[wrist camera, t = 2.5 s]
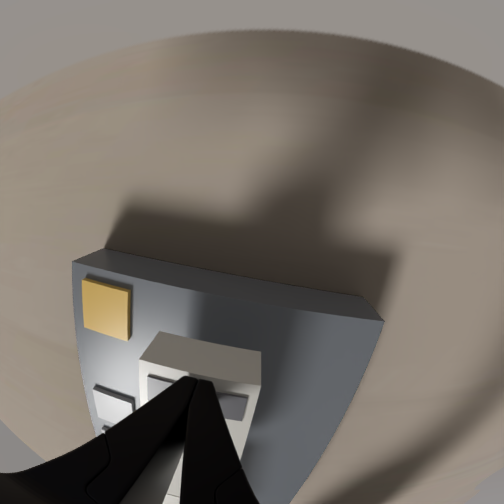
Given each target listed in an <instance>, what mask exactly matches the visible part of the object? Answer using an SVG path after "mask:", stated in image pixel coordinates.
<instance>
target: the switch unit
mask: <svg viewBox="0 0 504 504" xmlns="http://www.w3.org/2000/svg"><path fill="white" fill-rule="evenodd" d="M72 287H73V306H74V319H75V330H76V339H77V347H78V354H79V361H80V367H81V373H82V378H83V384H84V389H85V394H86V398H87V403H88V407H89V411H90V415H91V419H92V423H93V427H94V430H95V434H96V437H97V436H98V435H100V434H101V433H104V434H105V431H106V430H108V429H109V428H111V427H112V426H114V425H115V424H117V423H118V422H120V421H121V420H122V419H124V418H125V417H127V416H128V415H130V414H131V413H133V412H134V411H135V410H137V409H138V408H140V388H139V358H140V357H141V356H142V354H143V353H144V352H145V350H146V349H147V347H148V346H149V345H150V343H151V342H152V341H153V339H154V338H155V337H156V335H157V334H158V332H159V331H162V332H166V333H170V334H174V335H179V336H183V337H187V338H192V339H196V340H201V341H206V342H210V343H215V344H220V345H226V346H231V347H236V348H242V349H248V350H254V351H260V352H261V388H260V392H259V396H258V400H257V403H256V407H255V411H254V414H253V418H252V421H251V425H250V429H249V432H248V436H247V439H246V442H245V446H244V449H243V453H242V456H241V459H240V462H241V464H242V469H244V472H245V474H246V477H247V479H248V481H249V484H250V486H251V488H252V490H253V492H254V494H255V496H256V498H257V500H258V501H259V503H260V504H289V503H290V502H291V500H292V499H293V498H294V496H295V495H296V493H297V492H298V491H299V489H300V488H301V486H302V485H303V483H304V482H305V480H306V479H307V477H308V476H309V474H310V473H311V471H312V470H313V468H314V467H315V465H316V463H317V462H318V460H319V459H320V457H321V455H322V454H323V452H324V450H325V449H326V447H327V445H328V444H329V442H330V440H331V438H332V437H333V435H334V433H335V431H336V429H337V427H338V426H339V424H340V422H341V420H342V418H343V416H344V414H345V412H346V410H347V408H348V406H349V404H350V402H351V400H352V398H353V396H354V394H355V392H356V390H357V388H358V386H359V383H360V381H361V379H362V377H363V375H364V372H365V370H366V368H367V365H368V363H369V361H370V358H371V356H372V353H373V351H374V348H375V346H376V343H377V341H378V338H379V335H380V333H381V330H382V327H383V325H384V322H385V321H384V320H383V319H382V318H381V317H380V316H379V314H378V313H377V312H376V311H375V310H374V309H373V308H372V306H371V305H370V304H369V303H368V302H367V301H366V300H365V299H364V297H359V296H353V295H347V294H341V293H334V292H328V291H322V290H316V289H310V288H304V287H298V286H293V285H287V284H281V283H276V282H270V281H264V280H259V279H253V278H248V277H242V276H237V275H232V274H226V273H221V272H216V271H211V270H206V269H200V268H195V267H190V266H185V265H180V264H175V263H170V262H166V261H161V260H156V259H151V258H146V257H142V256H137V255H132V254H127V253H123V252H118V251H114V250H109V249H105V248H103V249H100V250H98V251H96V252H93V253H91V254H88V255H86V256H84V257H81V258H79V259H77V260H74V261H72Z"/></svg>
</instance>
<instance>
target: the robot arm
mask: <svg viewBox="0 0 504 504" xmlns="http://www.w3.org/2000/svg"><path fill="white" fill-rule="evenodd" d="M182 453H183V462H182V474H181V488H180V502H179V504H260V503H259V501H258V500H257V498H256V496H255V494H254V492H253V490H252V488H251V486H250V484H249V481H248V479H247V477H246V474H245V472H244V469H242V464H241V462H240V459H239V456H238V454H237V451H236V449H235V446H234V443H233V440H232V438H231V435H230V432H229V429H228V426H227V423H226V421H225V418H224V415H223V412H222V409H221V406H220V403H219V400H218V397H217V393H216V390H215V387H214V384H213V382H212V381H209V380H204V379H199V380H198V379H197V378H195V377H190V376H182V377H181V378H180V379H178V380H177V381H176V382H174V383H173V384H172V385H170V386H169V387H167V388H166V389H165V390H163V391H162V392H161V393H159V394H158V395H157V396H155V397H154V398H152V399H151V400H150V401H148V402H147V403H145V404H144V405H143V406H141V407H140V408H138V409H137V410H135V411H134V412H133V413H131V414H130V415H128V416H127V417H125V418H124V419H122V420H121V421H120V422H118V423H117V424H115V425H114V426H112V427H111V428H109V429H108V430H106V431H105V434H104V433H101V434H100V435H98V436H97V437H95V438H94V439H92V440H90V441H89V442H87V443H85V444H84V445H82V446H80V447H78V448H76V449H74V450H72V451H70V452H68V453H66V454H64V455H62V456H60V457H57V458H55V459H52V460H50V461H48V462H45V463H43V464H40V465H38V466H35V467H32V468H30V469H27V470H24V471H20V472H15V473H0V504H163V501H164V499H165V496H166V494H167V491H168V489H169V486H170V484H171V481H172V479H173V476H174V474H175V471H176V469H177V466H178V464H179V461H180V458H181V456H182Z"/></svg>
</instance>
